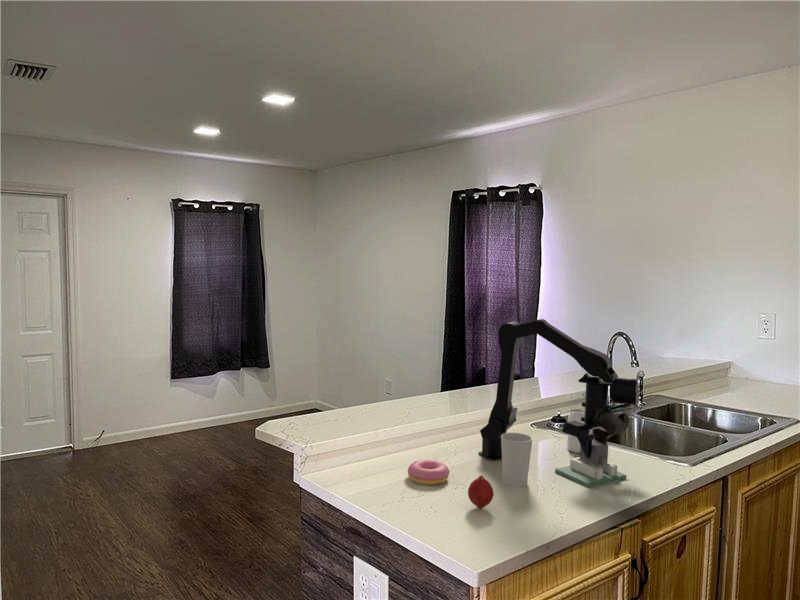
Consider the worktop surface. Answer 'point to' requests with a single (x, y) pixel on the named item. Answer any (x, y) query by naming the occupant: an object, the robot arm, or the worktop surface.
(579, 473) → the board
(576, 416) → the can
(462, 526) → the worktop surface
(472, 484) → the onion
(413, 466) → the doughnut
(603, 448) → the plug
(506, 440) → the cup
